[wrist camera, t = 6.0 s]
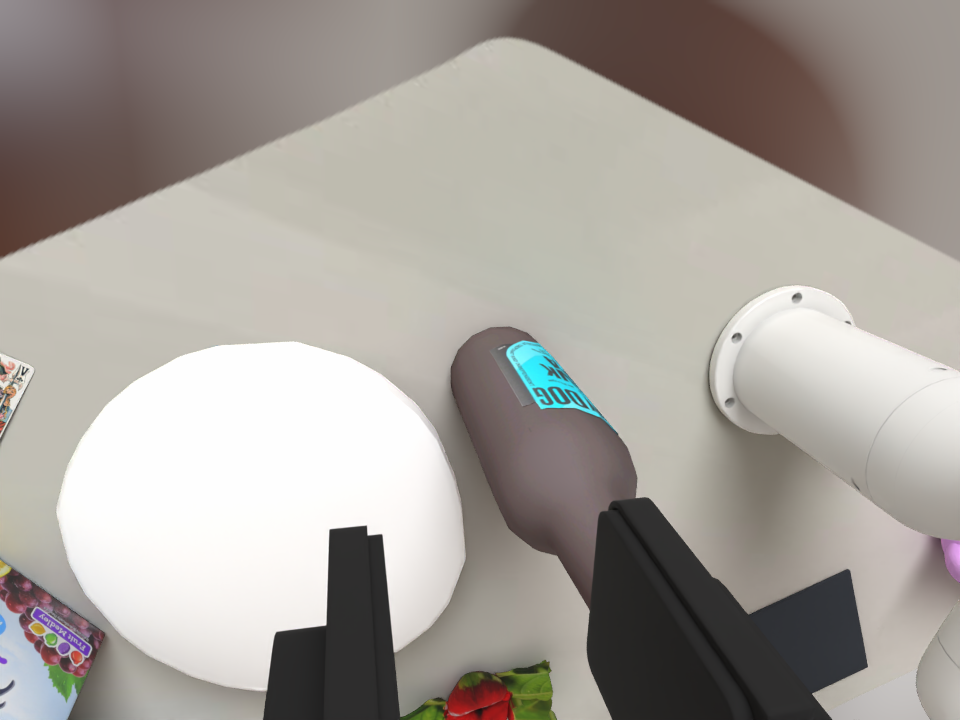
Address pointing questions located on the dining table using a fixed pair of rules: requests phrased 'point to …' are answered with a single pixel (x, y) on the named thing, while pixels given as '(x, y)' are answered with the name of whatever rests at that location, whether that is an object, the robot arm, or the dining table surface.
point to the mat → (817, 632)
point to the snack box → (40, 651)
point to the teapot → (952, 557)
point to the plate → (255, 504)
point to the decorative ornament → (494, 697)
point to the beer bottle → (541, 446)
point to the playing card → (11, 386)
